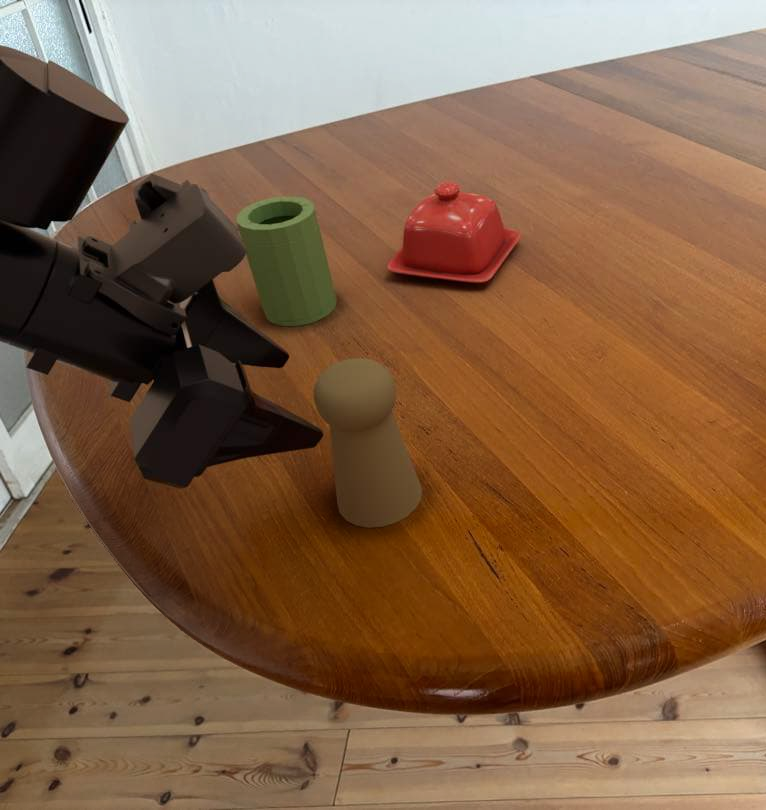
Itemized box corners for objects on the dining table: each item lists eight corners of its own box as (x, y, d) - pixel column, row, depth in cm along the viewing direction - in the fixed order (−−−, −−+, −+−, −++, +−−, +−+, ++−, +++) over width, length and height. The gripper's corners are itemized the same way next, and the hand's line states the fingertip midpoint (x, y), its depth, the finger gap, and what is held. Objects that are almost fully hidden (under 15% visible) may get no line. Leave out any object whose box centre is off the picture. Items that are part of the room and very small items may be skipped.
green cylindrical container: (265, 332, 77) (235, 234, 71) (264, 296, 82) (236, 203, 76) (339, 318, 78) (316, 221, 72) (334, 284, 83) (311, 191, 77)
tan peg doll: (437, 480, 60) (416, 355, 53) (392, 537, 55) (362, 410, 49) (369, 459, 62) (339, 337, 55) (320, 513, 58) (281, 388, 51)
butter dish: (488, 294, 80) (479, 213, 75) (382, 281, 83) (367, 203, 78) (526, 241, 89) (521, 165, 83) (429, 231, 92) (418, 157, 87)
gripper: (121, 230, 33) (424, 372, 43) (99, 103, 46) (333, 234, 56) (-5, 445, 35) (310, 530, 45) (9, 264, 48) (249, 362, 59)
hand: (301, 397), depth 51 cm, fingers open, 9 cm apart
